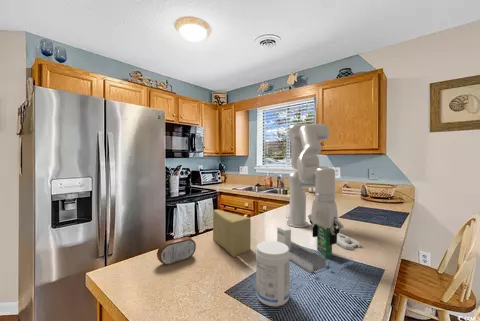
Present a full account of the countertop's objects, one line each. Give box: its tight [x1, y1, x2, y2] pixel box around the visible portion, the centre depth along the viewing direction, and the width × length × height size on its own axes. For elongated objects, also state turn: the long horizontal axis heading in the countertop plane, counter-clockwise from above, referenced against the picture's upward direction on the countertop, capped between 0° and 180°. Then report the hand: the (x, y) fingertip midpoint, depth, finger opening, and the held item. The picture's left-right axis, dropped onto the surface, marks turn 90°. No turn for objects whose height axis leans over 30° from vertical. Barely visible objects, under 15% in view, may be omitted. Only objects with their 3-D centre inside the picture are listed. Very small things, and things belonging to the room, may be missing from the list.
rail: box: [289, 240, 330, 277], centre depth 87 cm, size 10×22×4 cm, turn 29°
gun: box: [335, 232, 362, 251], centre depth 105 cm, size 18×3×10 cm
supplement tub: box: [255, 240, 290, 307], centre depth 63 cm, size 10×10×15 cm
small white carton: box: [276, 225, 292, 251], centre depth 94 cm, size 5×3×9 cm, turn 29°
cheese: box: [212, 209, 252, 258], centre depth 99 cm, size 22×10×15 cm, turn 39°
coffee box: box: [316, 225, 333, 259], centre depth 90 cm, size 8×3×13 cm, turn 6°
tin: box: [156, 236, 197, 266], centre depth 85 cm, size 15×3×8 cm, turn 129°
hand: (324, 239), depth 90 cm, fingers closed on coffee box, 8 cm apart
